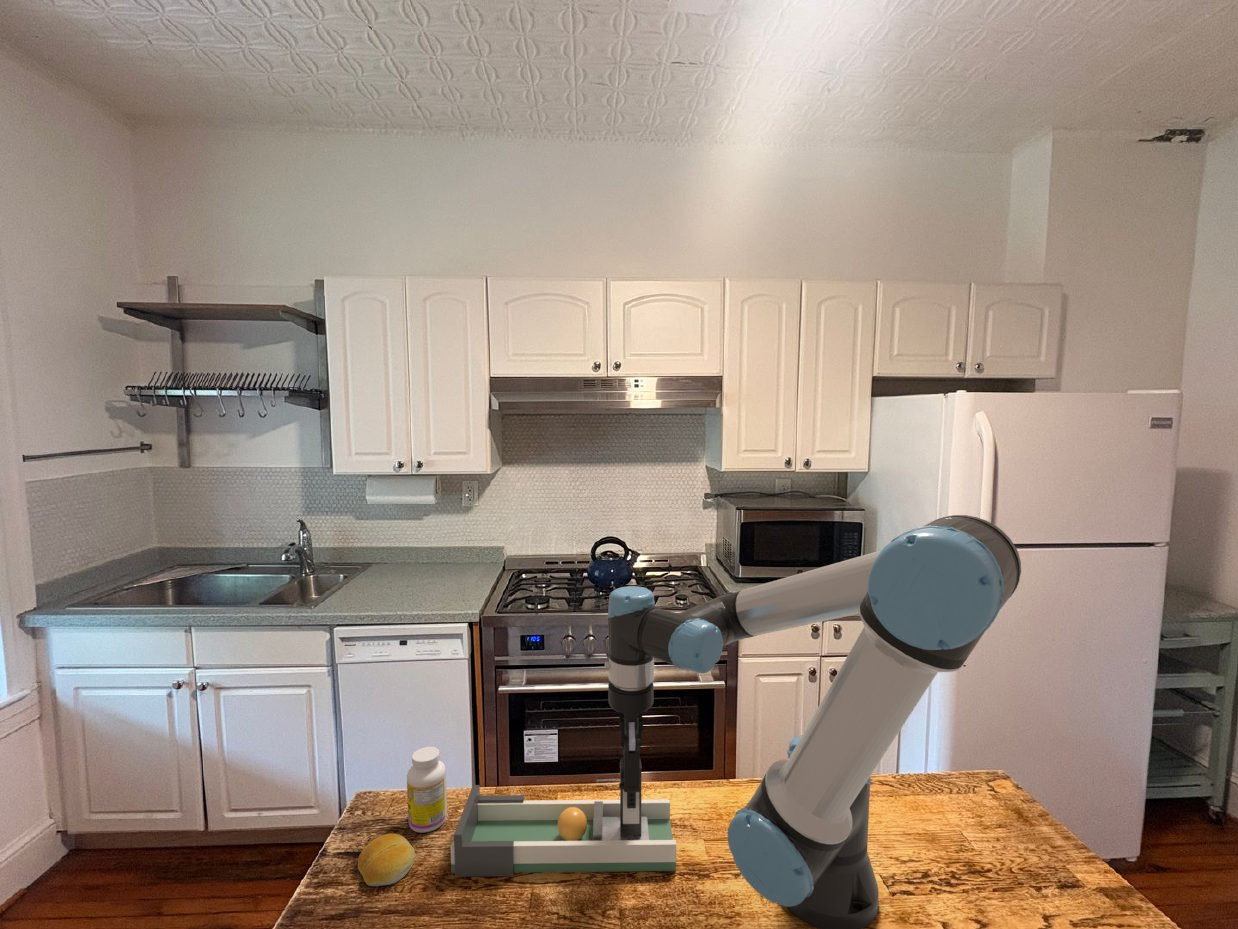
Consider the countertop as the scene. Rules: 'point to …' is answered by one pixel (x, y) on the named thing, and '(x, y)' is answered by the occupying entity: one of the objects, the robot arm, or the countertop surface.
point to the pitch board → (551, 853)
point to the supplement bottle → (426, 791)
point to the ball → (572, 824)
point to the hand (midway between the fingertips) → (630, 815)
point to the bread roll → (386, 860)
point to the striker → (618, 820)
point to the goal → (482, 854)
